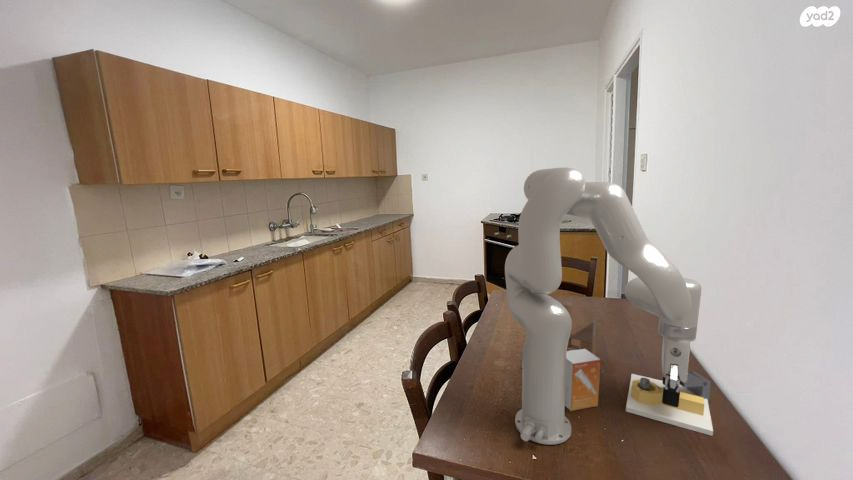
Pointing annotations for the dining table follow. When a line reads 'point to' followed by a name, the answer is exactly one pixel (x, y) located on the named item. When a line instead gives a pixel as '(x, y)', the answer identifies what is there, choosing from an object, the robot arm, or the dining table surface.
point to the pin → (644, 384)
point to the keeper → (697, 385)
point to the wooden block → (582, 333)
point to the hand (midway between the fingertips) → (669, 394)
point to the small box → (581, 379)
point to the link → (656, 394)
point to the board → (671, 411)
